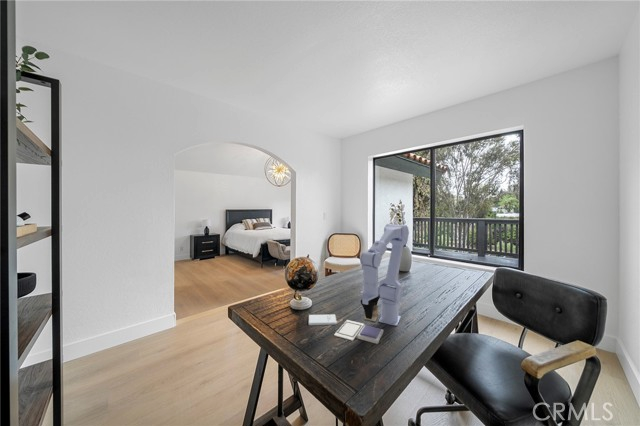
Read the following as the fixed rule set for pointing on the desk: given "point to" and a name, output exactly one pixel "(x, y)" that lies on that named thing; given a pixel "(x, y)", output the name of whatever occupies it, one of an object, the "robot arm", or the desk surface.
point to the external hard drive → (322, 319)
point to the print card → (349, 330)
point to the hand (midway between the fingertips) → (370, 315)
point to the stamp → (373, 315)
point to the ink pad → (370, 334)
